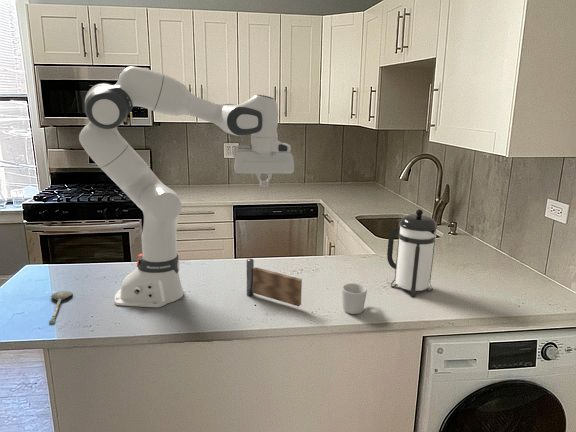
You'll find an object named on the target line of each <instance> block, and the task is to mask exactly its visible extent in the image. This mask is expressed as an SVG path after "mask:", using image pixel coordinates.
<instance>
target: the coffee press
mask: <svg viewBox="0 0 576 432" xmlns="http://www.w3.org/2000/svg"><path fill="white" fill-rule="evenodd" d="M423 213H424V211H423V210H422V209H417V210H416V212H415V214H408V215H407V214H406V215H405V216H403V217H402V218H401V220H400V221H399V222H398V223H399V224H398V225H399V227H394V228H392V229H391V231H390V232H389V235H388V241H387V254H386V255H387V256H386V260H387V263H388V264H389V266H390V267H391V268H392V269H394V279H393V280H392V282H390V287H391V288H395V287H397V286H399V287H400V288H401V289H404V290H406V291H410V297H412V298H415V297H416V292H419V291H420V292H422V291H425V290H427V291H429V292H432V291H433V290H434V288H433V286H432V284H431V278H432V272H433V271H432V269H433V260H434V253H435V246H436V245H435V244H436V243H435V242H436V238H437V230H438V224H437V223H436V221H435V219H434V218H432V217H431V216H428V215H424V214H423ZM396 234H398V239H397V250H396V259H395V260H396V261H394V259H393V251H394V241H395V240H394V239H395V235H396ZM394 282H395V283H396V284H394ZM393 284H394V285H393ZM429 287H430V288H431V289H430V288H429Z"/></svg>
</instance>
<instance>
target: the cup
mask: <svg viewBox="0 0 576 432" xmlns="http://www.w3.org/2000/svg"><path fill="white" fill-rule="evenodd" d="M367 293H368V289H367V287H366V286H364V285H362V284H359V283H353V282H352V283H350V282H349V283H345V284H343V286H342V288H341V295H342V297H341V298H342V299H341V300H342V309H343V310H344V312H345V313H348V314H350V315H359V314H361V313H363V311H364V309H365V304H366V298H367Z"/></svg>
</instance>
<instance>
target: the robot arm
mask: <svg viewBox="0 0 576 432" xmlns="http://www.w3.org/2000/svg"><path fill="white" fill-rule="evenodd" d="M116 81H117V82H116V83H115V84H113V83H110V82H104V81H103V82H98V83H96V84H94V85H92V86H91V87H90V88H89V89H88V91H87V93H86V95H85V98H84V112H85V116H86V117H87V119H88V120H89V122H88V123H87V124H86V125H84V126H83V128H82V129H81V131H80V132H79V134H78V139H79V144H80V145H81V147H82V148H83V149H84V151H85V152H86V154H87V155H88V156H89V157H90V159H91V160H92V161H93V162H94V163H95V164H96V166H98V167H99V169H101V171H103V173H105V174H106V176H107V177H108V178H110V179H111V181H113V182H114V183H115V185H117V187H119V189H120V190H121V191H122V192H123V193H124V194H125V195H126V196H127V197H128V198H129V199H130V200H131V201H132V202H133V203H134V204H135V205H136V206H137V207H138V208H139V209H140V210H141V211H142V214H143V226H142V233H141V250H142V253H139V254H138V255H137V260H136V268H135V269H134V270H132V271H131V272H130V273H128V274H127V275H126V276H125V277H124V279H123V280H122V282H121V286H120V289H119V290H117V291H116V293H115V295H114V301H113V303H114V304H115V305H116V306H122V307H123V306H125V307H142V308H143V307H144V308H161V307H163V306H165V305H167V304H170V303H173V302H175V301H177V300H179V299H181V298H182V297H183V296H184V294H185V292H184V289H183V286H182V283H181V279H180V273H179V272H180V258H179V254H178V245H177V244H178V243H177V231H178V223H179V216H180V214H181V212H182V202H181V199H180V197H179V195H178V194H177V192H175V191H174V190H173V189H171V188H170V187H169V186H167V185H165V184H164V183H163V182H162V180H160V179H159V178H158V177H157V174H155V172H153V171H152V169H151V168H150V166H149V165H148V163H147V162H145V160H144V159H143V157H141V156H140V155H139V154H138V152H137V151H135V149H134V148H133V147H132V146H131V144H129V142H127V140H126V139H125V138H124V137H123V136H122V135H121V133H120V132H119V130H118V127H119V126H121V125H122V123H124V121H125V120H126V118H127V117H128V115H129V114H130V113H131V111H132V110H133V107H140V108H143V109H147V110H149V111H153V112H156V113H160V114H162V115H170V116H182V115H184V116H185V115H186V116H191V117H194V118H197V119H200V120H204V121H205V122H206V121H207V122H209V123H211V124H213V125H214V126H216V127H217V128H218V130H220V131H221V132H222V133H224V134H228V135H233V136H237V137H245V136H248V135H250V144H249V145H247V144H246V145H242V144H238V145H237V146H235V147H234V148H233V150H232V157H233V158H234V167H233V169H234V170H233V171H234V172H235V173H236V174H256V178H257V179H258V181H259V187H265V188H266V187H269V182H270V180H271V179H272V176H273V175H272V174H277V175H278V174H290V175H291V174H293V173H294V172H295V163H294V156H293V154H292V153H291V150H292V147H291V145H290V144H288V143H286V142H284V141H282V140H281V141H280V140H278V138H279V137H278V136H279V135H278V132H277V129H278V125H279V112H278V111H279V109H278V103H277V100H275V98H274V97H271V96H267V95H264V94H263V95H262V94H255V95H253V96H252V97H251V98H249V99H248V100H246V101H244V102H241V103H239V104H232V103H224V104H218V103H215V102H213V101H209V100H206V99H204V98H201V97H199V96H196V95H195V94H194V93H192V92H191V91H190V90H189V89H188V88H187V86H186V85H185V84H184V83H183V82H180V80H177V79H176V78H173V77H171V76H169V75H167V74H164V73H161V72H159V71H155V70H152V69H148V68H143V67H138V66H127V67H126V68H124V69H123V70H122V71H121V72H120V73H119V76H118V79H117V80H116ZM262 174H266V175H267V178H266V180H262V178H261V176H262Z"/></svg>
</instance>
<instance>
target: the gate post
mask: <svg viewBox="0 0 576 432" xmlns="http://www.w3.org/2000/svg"><path fill="white" fill-rule="evenodd" d="M254 263H255V261H254V259H253V258H247V259H246V296H247V297H254V294H255V293H253V268H255V267H254V266H255V265H254Z"/></svg>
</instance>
